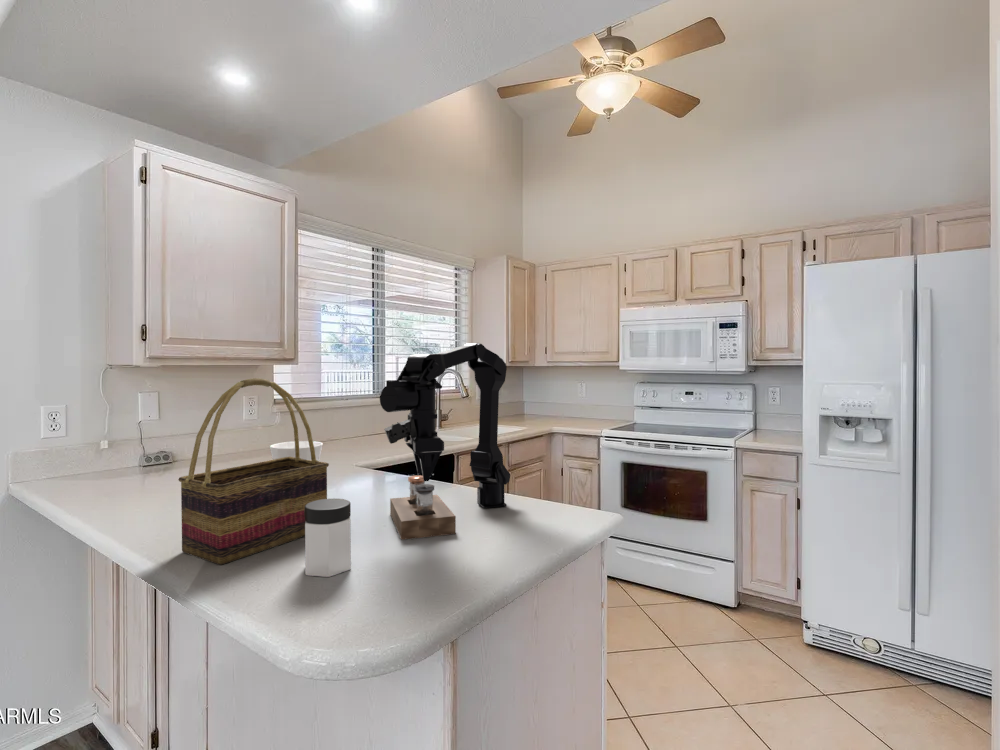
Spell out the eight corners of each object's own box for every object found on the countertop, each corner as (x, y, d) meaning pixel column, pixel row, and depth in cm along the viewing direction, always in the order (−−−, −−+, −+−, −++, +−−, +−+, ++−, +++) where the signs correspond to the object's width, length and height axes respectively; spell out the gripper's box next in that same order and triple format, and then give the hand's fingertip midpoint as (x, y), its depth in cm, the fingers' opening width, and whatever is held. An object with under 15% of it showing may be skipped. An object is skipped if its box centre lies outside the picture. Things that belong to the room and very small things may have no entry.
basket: (218, 568, 94) (216, 380, 94) (176, 553, 102) (174, 379, 101) (331, 528, 117) (330, 377, 117) (290, 519, 125) (289, 376, 124)
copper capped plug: (424, 501, 128) (424, 474, 128) (427, 506, 124) (427, 478, 124) (407, 503, 127) (406, 476, 127) (409, 507, 123) (409, 479, 123)
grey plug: (432, 512, 119) (432, 483, 119) (436, 517, 115) (436, 487, 115) (413, 514, 117) (413, 484, 117) (416, 519, 113) (416, 489, 113)
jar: (337, 555, 100) (336, 495, 100) (361, 566, 95) (361, 502, 95) (294, 569, 93) (293, 505, 93) (317, 582, 88) (317, 513, 88)
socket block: (437, 509, 132) (437, 494, 132) (455, 533, 113) (455, 516, 113) (390, 514, 128) (390, 498, 128) (401, 539, 109) (401, 521, 109)
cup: (258, 505, 137) (258, 446, 137) (296, 493, 150) (296, 439, 149) (297, 510, 132) (297, 449, 132) (333, 497, 145) (333, 442, 144)
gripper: (383, 406, 122) (383, 471, 123) (391, 413, 105) (391, 489, 105) (429, 405, 126) (429, 468, 126) (444, 412, 108) (444, 485, 108)
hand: (423, 477), depth 116 cm, fingers open, 8 cm apart
